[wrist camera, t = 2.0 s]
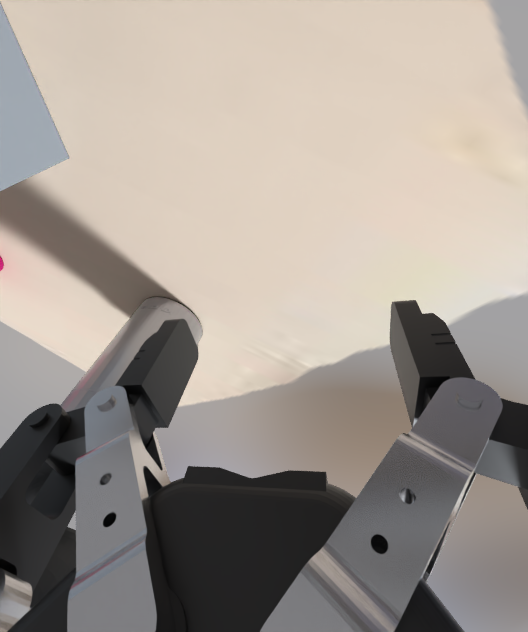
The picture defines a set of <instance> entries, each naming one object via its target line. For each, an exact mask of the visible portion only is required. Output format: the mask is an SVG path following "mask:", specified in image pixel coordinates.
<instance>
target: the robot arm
mask: <svg viewBox="0 0 528 632" xmlns="http://www.w3.org/2000/svg"><path fill="white" fill-rule="evenodd" d="M201 337H202V327H201V324H200V322H199V320H198V319H197V318H196V316H195V315H194V314H193V313H192V312H191V311H190V310H189V309H187V308H186V307H184V306H183V305H181V304H179V303H178V302H175V301H173V300H170V299H167V298H162V297H153V298H149V299H146V300H145V301H144V302H143V303H142V304H141V305H140V306H139V307H138V309H137V310H136V311H135V312H134V314H133V315H132V316H131V317H130V319H129V320H128V321H127V322H126V323H125V325H124V326H123V327H122V329H121V330H120V331H119V332H118V334H117V335H116V336H115V337H114V339H113V340H112V341H111V342H110V344H109V345H108V346H107V347H106V349H105V350H104V351H103V352H102V354H101V355H100V356H99V357H98V359H97V360H96V361H95V362H94V364H93V365H92V366H91V367H90V369H89V370H88V371H87V372H86V374H85V375H84V376H83V377H82V379H81V380H80V381H79V383H78V384H77V385H76V386H75V387H74V389H73V390H72V391H71V393H70V394H69V395H68V397H67V398H66V399H65V400H64V401H63V403H62V404H61V405H59V404H49V405H46V406H43V407H41V408H39V409H37V410H35V411H34V412H33V413H31V414H30V415H29V416H28V417H27V418H25V420H24V421H23V422H22V423H21V424H20V425H19V427H18V428H17V429H16V430H15V432H14V433H13V434H12V435H11V436H10V438H9V439H8V440H7V441H6V443H5V444H4V445H3V446H2V448H1V449H0V632H464V631H463V629H462V628H461V627H460V626H459V624H458V623H457V622H456V620H455V619H454V618H453V616H452V615H451V614H450V613H449V611H448V610H447V609H446V608H445V606H444V605H443V604H442V602H441V601H440V600H439V598H438V597H437V596H436V595H435V593H434V592H433V591H432V590H431V588H430V587H429V586H428V584H427V581H428V579H429V577H430V575H431V572H432V571H433V568H434V566H435V564H436V562H437V560H438V558H439V555H440V553H441V551H442V549H443V547H444V544H445V542H446V540H447V538H448V535H449V533H450V530H451V528H452V526H453V524H454V522H455V519H456V517H457V515H458V513H459V511H460V509H461V507H462V504H463V502H464V500H465V498H466V496H467V494H468V491H469V489H470V487H471V485H472V483H473V481H474V479H475V476H476V474H480V475H483V476H486V477H490V478H493V479H496V480H499V481H502V482H505V483H508V484H511V485H515V486H518V488H519V490H520V493H521V495H522V497H523V500H524V502H525V504H526V507H527V509H528V405H525V404H520V403H515V402H511V401H508V400H505V399H502V398H500V396H499V395H498V394H497V392H496V391H494V390H493V389H492V388H491V387H489V386H488V385H486V384H484V383H482V382H480V381H478V380H476V379H475V378H474V376H473V374H472V372H471V370H470V368H469V367H468V365H467V363H466V361H465V359H464V357H463V355H462V354H461V352H460V350H459V348H458V346H457V344H455V340H454V338H453V337H452V335H451V333H450V331H449V329H448V327H447V325H446V323H445V322H444V321H443V320H441V319H440V318H439V317H438V316H436V315H435V314H434V313H429V314H422V313H421V311H420V308H419V306H418V304H417V302H416V300H410V301H397V302H392V305H391V322H390V346H391V352H392V355H393V359H394V362H395V366H396V370H397V373H398V378H399V381H400V385H401V389H402V392H403V396H404V400H405V403H406V407H407V411H408V414H409V418H410V422H411V425H412V429H411V431H410V432H409V433H408V434H405V433H403V434H401V435H400V436H399V437H398V438H397V440H396V441H395V442H394V444H393V445H392V447H391V448H390V450H389V451H388V453H387V454H386V456H385V457H384V459H383V460H382V462H381V463H380V465H379V466H378V467H377V469H376V470H375V472H374V473H373V475H372V476H371V478H370V479H369V481H368V482H367V484H366V485H365V486H364V488H363V489H362V491H361V492H360V494H359V495H358V497H357V498H355V497H354V496H353V495H351V494H349V493H348V492H346V491H345V490H343V489H341V488H339V487H336V486H334V485H331V484H328V482H327V475H326V472H313V471H285V472H281V473H276V474H272V475H267V476H263V477H258V478H248V477H245V476H242V475H239V474H236V473H233V472H230V471H228V470H225V469H222V468H216V467H192V466H188V468H187V471H186V474H185V477H184V478H182V479H179V480H176V481H174V482H170V479H169V477H168V474H167V470H166V467H165V463H164V460H163V456H162V453H161V449H160V446H159V442H158V439H157V436H156V435H155V433H154V430H155V428H160V427H161V428H168V426H169V424H170V422H171V420H172V417H173V415H174V412H175V410H176V408H177V406H178V404H179V401H180V399H181V397H182V395H183V392H184V390H185V388H186V385H187V383H188V381H189V379H190V376H191V374H192V372H193V370H194V367H195V365H196V363H197V360H198V346H197V344H198V343H199V341H200V339H201ZM75 510H76V530H74V529H71V528H68V527H67V526H68V524H69V522H70V520H71V518H72V516H73V514H74V512H75Z"/></svg>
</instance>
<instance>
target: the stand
mask: <svg viewBox="0 0 528 632" xmlns="http://www.w3.org/2000/svg"><path fill="white" fill-rule="evenodd" d="M68 158H69V156H68V154H67V151H66V149H65V147H64V145H63V142H62V140H61V138H60V136H59V133H58V131H57V129H56V127H55V124H54V122H53V120H52V118H51V115H50V113H49V111H48V109H47V106H46V104H45V102H44V100H43V98H42V95H41V93H40V91H39V89H38V86H37V84H36V82H35V80H34V77H33V75H32V73H31V71H30V68H29V66H28V64H27V62H26V59H25V57H24V55H23V53H22V50H21V48H20V46H19V44H18V41H17V39H16V37H15V35H14V32H13V30H12V28H11V26H10V23H9V21H8V19H7V17H6V15H5V12H4V10H3V8H2V6H1V3H0V191H2V190H4V189H6V188H8V187H10V186H12V185H14V184H16V183H18V182H21V181H23V180H25V179H27V178H29V177H31V176H33V175H35V174H37V173H39V172H41V171H43V170H45V169H48V168H50V167H52V166H54V165H56V164H58V163H60V162H62V161H64V160H66V159H68Z"/></svg>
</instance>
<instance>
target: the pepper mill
mask: <svg viewBox="0 0 528 632" xmlns="http://www.w3.org/2000/svg"><path fill="white" fill-rule="evenodd" d="M3 266H4V264H3V260H2V258H1V257H0V271H1V270H2V269H3Z"/></svg>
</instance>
